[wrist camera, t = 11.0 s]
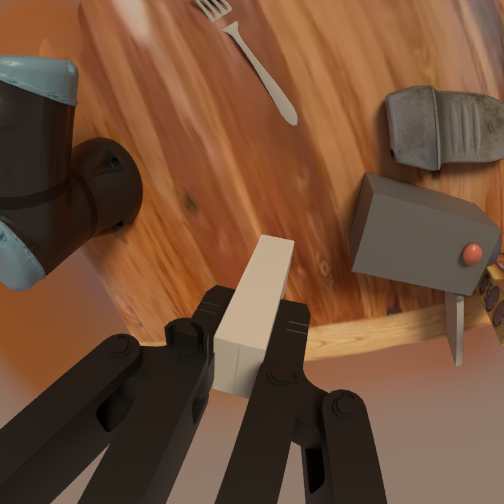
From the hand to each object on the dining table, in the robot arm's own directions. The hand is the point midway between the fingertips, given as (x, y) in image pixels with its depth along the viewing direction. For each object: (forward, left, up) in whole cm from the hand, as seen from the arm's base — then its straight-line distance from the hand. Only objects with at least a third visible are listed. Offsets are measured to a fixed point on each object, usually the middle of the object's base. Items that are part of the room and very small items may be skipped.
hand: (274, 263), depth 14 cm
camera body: (+15, -5, -24) cm, 29 cm away
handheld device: (+18, +9, -25) cm, 32 cm away
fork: (-8, +11, -25) cm, 29 cm away
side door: (+26, -16, -24) cm, 38 cm away
